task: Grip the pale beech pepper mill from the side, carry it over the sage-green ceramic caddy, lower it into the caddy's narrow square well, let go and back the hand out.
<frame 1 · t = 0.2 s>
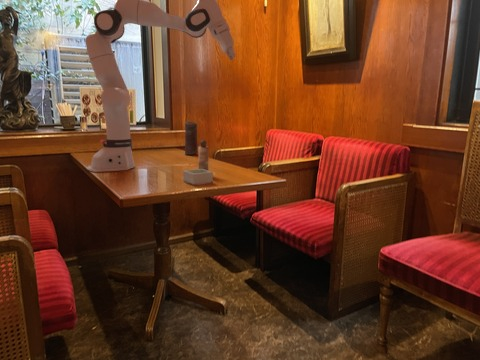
hand: (233, 58, 179), 53 cm above the table, tool tilted 25°, fingers open, 8 cm apart
caddy: (197, 181, 154), on the table
candle: (191, 155, 228), on the table
pepper mill: (203, 175, 168), on the table
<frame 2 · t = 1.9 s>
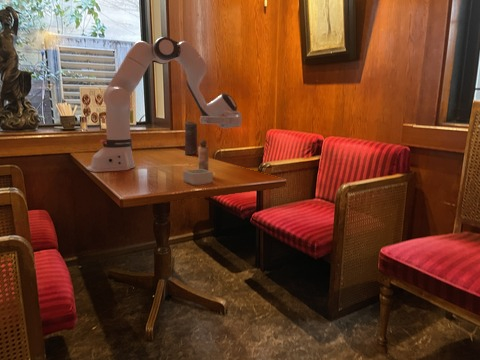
hand: (214, 121, 174), 24 cm above the table, tool horizontal, fingers open, 8 cm apart
nothing on the table moved.
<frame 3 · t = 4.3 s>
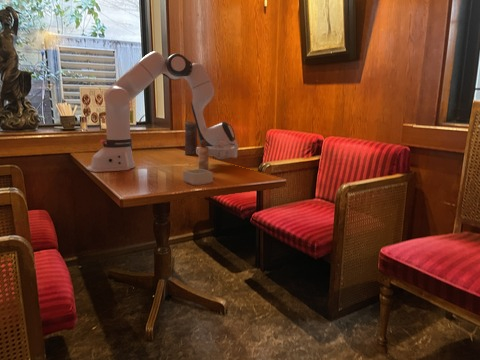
hand: (210, 153, 173), 9 cm above the table, tool horizontal, fingers open, 8 cm apart
nothing on the table moved.
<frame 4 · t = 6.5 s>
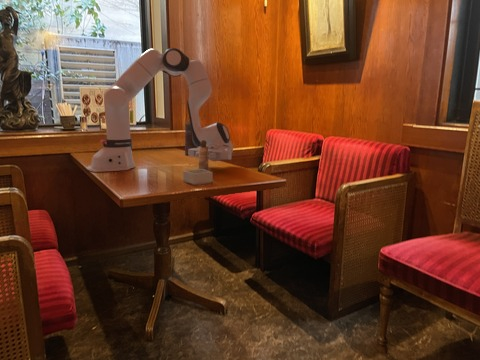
hand: (202, 155, 166), 9 cm above the table, tool horizontal, fingers closed on pepper mill, 4 cm apart
pepper mill: (203, 175, 168), on the table, touching gripper
everything else where it was.
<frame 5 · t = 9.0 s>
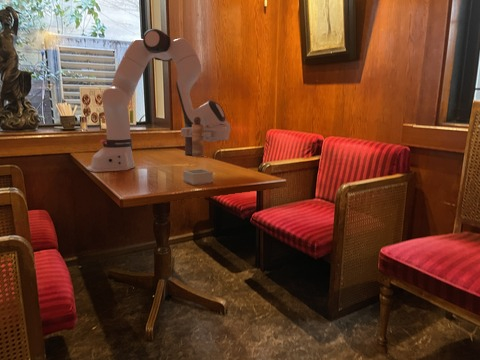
hand: (196, 134, 150), 20 cm above the table, tool horizontal, fingers closed on pepper mill, 4 cm apart
pepper mill: (197, 156, 152), point 11 cm above the table, touching gripper
everything else where it was.
when the fingers open (11 cm above the table, at t = 11.6 s): pepper mill drops 1 cm, resting on caddy.
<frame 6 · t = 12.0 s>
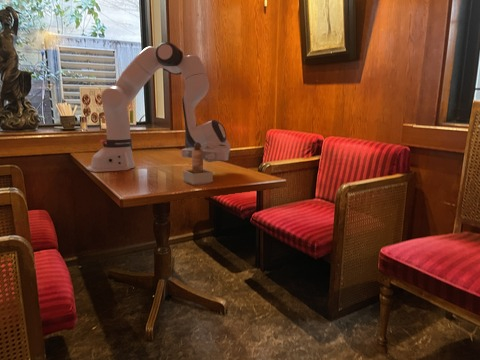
hand: (196, 156, 151), 11 cm above the table, tool horizontal, fingers open, 8 cm apart
pepper mill: (197, 180, 154), point 1 cm above the table, touching caddy
everything else where it was.
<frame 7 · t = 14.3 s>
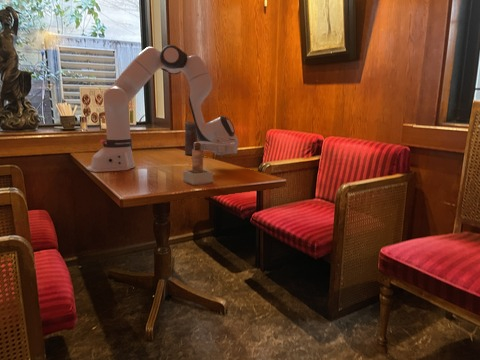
hand: (208, 148, 163), 12 cm above the table, tool horizontal, fingers open, 8 cm apart
nothing on the table moved.
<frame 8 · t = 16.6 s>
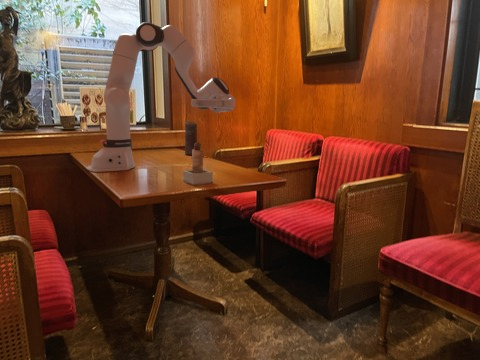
hand: (205, 103, 166), 32 cm above the table, tool horizontal, fingers open, 8 cm apart
nothing on the table moved.
at the end: pepper mill 0.0 cm off-centre on the caddy, point 0.6 cm above the caddy's base; pepper mill tilted 0°; the gripper is holding nothing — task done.
